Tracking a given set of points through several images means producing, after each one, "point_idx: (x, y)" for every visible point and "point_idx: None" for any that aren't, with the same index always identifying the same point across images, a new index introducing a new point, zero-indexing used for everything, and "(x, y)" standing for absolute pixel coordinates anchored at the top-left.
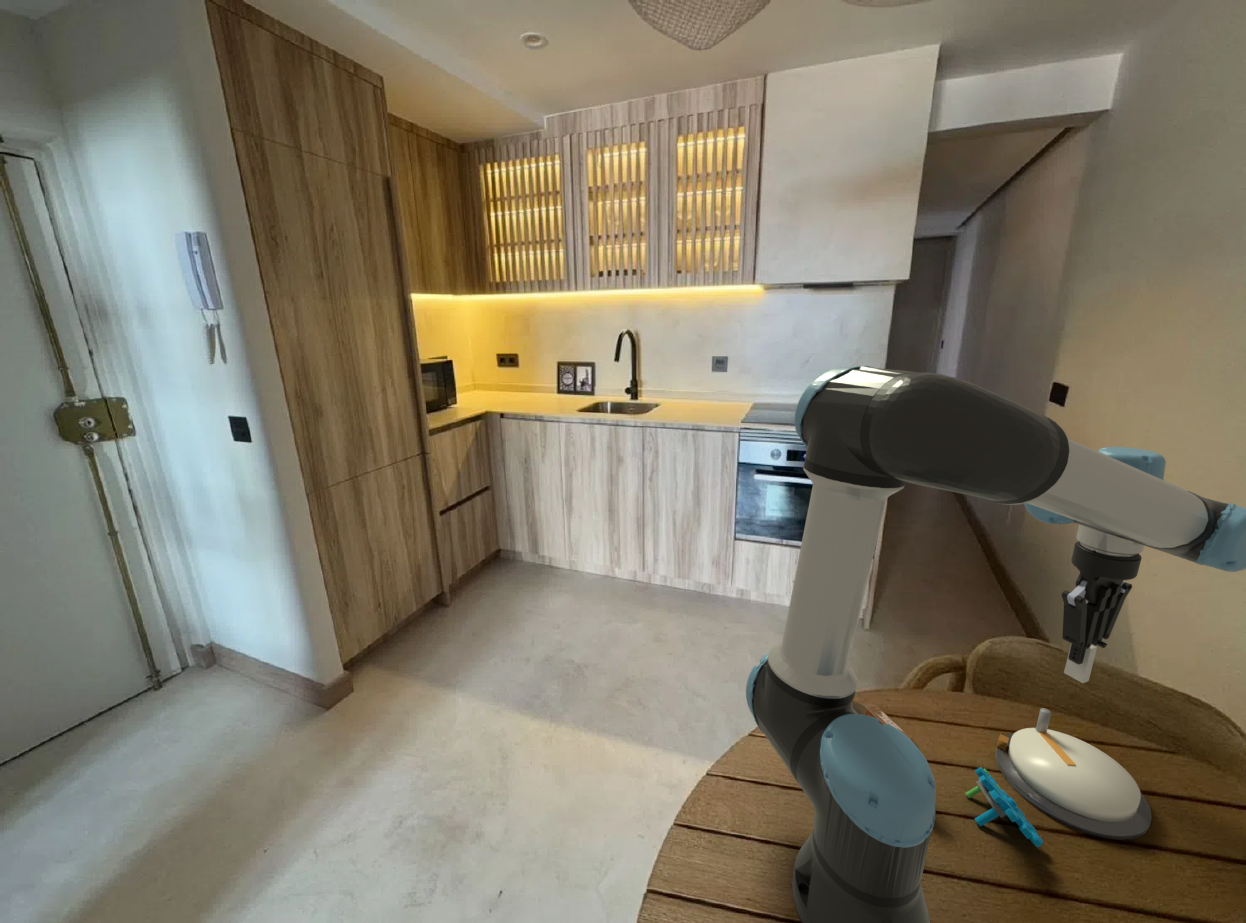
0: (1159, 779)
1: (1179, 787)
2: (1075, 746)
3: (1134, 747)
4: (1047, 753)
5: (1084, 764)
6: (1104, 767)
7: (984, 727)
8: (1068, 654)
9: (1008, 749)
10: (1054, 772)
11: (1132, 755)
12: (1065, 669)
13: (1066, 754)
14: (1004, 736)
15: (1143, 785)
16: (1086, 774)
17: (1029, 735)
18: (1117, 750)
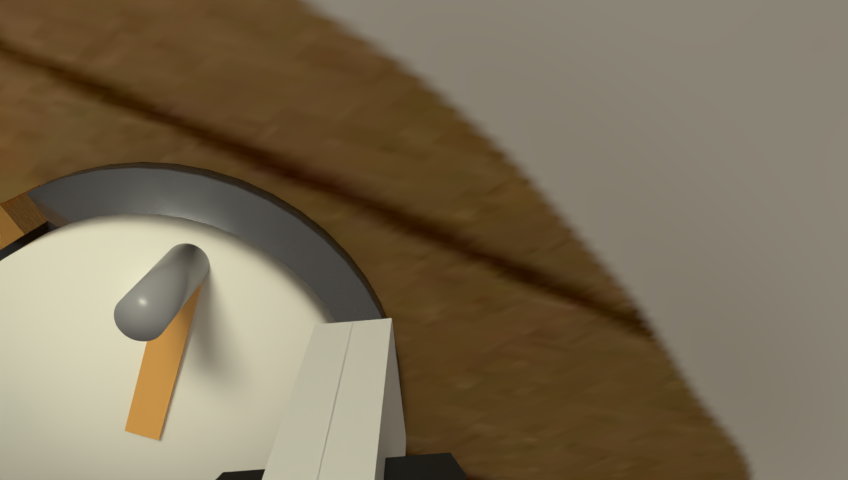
0: (534, 441)
1: (560, 475)
2: (263, 366)
3: (631, 322)
4: (96, 366)
5: (203, 440)
6: None
7: (66, 74)
8: (275, 441)
9: (33, 239)
10: (36, 441)
11: (572, 348)
12: (311, 346)
13: (169, 395)
14: (7, 222)
15: (446, 445)
16: (162, 473)
17: (105, 270)
18: (544, 318)
